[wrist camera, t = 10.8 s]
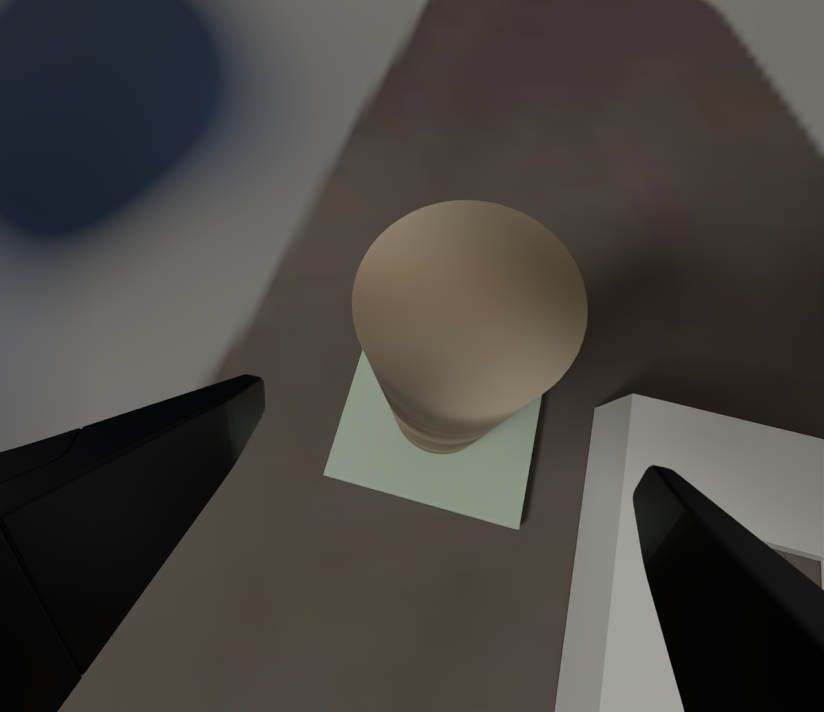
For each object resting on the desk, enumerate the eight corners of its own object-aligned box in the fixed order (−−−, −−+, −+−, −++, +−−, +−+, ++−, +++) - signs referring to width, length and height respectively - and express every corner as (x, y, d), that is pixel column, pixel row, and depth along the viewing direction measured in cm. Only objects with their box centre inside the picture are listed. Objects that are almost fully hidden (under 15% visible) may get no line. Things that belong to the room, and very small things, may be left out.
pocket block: (959, 908, 15) (1140, 1054, 11) (547, 768, 17) (584, 855, 13) (918, 487, 20) (1039, 491, 16) (594, 408, 21) (632, 393, 17)
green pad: (515, 528, 20) (518, 530, 19) (326, 475, 20) (323, 474, 20) (547, 344, 22) (551, 340, 22) (379, 304, 23) (378, 300, 23)
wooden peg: (501, 440, 20) (626, 379, 8) (407, 465, 20) (381, 443, 7) (472, 351, 22) (539, 179, 9) (384, 373, 21) (332, 227, 9)
